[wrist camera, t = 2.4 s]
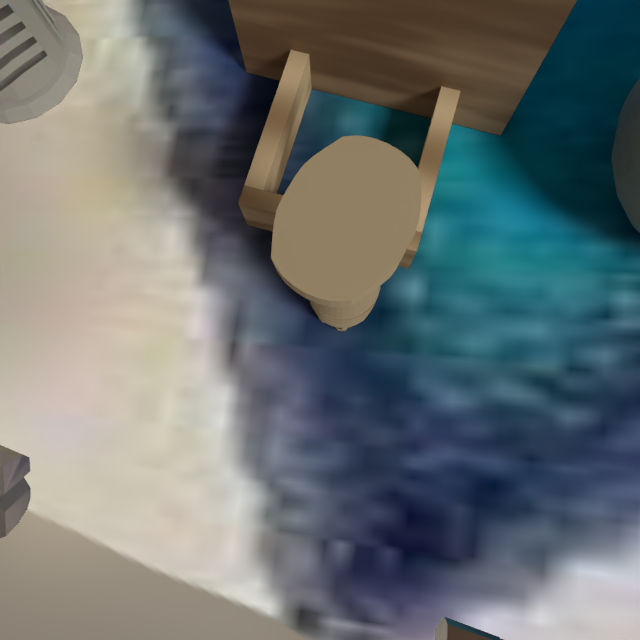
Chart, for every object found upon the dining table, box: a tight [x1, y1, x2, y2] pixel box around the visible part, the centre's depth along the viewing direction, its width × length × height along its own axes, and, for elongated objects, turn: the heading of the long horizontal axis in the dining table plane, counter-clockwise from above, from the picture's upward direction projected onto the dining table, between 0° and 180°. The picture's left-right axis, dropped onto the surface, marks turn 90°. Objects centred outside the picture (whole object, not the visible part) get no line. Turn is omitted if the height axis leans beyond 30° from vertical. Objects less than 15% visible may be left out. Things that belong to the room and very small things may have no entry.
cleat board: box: [229, 0, 577, 269], centre depth 26 cm, size 13×18×20 cm
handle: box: [271, 136, 422, 331], centre depth 27 cm, size 5×6×15 cm
